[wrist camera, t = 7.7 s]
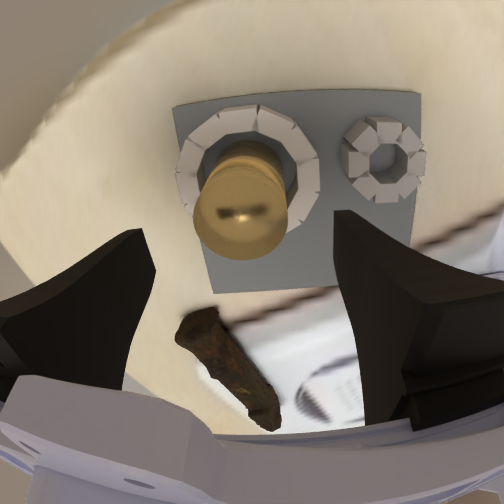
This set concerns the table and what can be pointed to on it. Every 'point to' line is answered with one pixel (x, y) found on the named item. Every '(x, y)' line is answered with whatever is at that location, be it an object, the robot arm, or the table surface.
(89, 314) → the robot arm
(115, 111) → the table surface
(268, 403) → the brown wooden stick
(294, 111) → the fitting board
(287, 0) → the table surface
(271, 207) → the round peg
